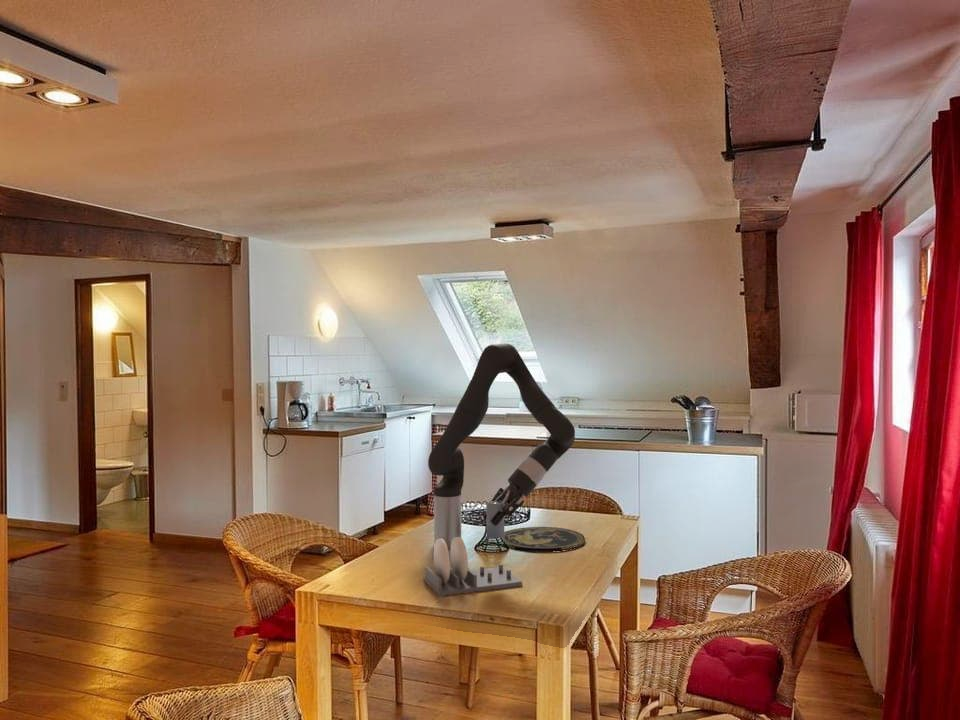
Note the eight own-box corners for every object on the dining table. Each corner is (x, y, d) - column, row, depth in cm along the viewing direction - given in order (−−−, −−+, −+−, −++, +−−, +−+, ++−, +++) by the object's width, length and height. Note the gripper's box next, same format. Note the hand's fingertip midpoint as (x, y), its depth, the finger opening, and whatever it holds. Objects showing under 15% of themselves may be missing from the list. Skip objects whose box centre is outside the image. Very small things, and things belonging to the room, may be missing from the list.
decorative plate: (560, 523, 266) (601, 542, 238) (560, 528, 266) (601, 548, 238) (485, 531, 256) (519, 552, 228) (485, 536, 256) (519, 558, 228)
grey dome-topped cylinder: (484, 535, 206) (483, 502, 205) (500, 533, 207) (499, 500, 207) (490, 539, 201) (490, 505, 201) (507, 537, 203) (506, 503, 203)
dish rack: (423, 580, 204) (423, 534, 204) (501, 570, 213) (501, 526, 213) (439, 596, 190) (439, 547, 190) (522, 585, 199) (522, 538, 199)
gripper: (509, 464, 213) (471, 508, 209) (529, 471, 200) (489, 518, 196) (525, 480, 215) (488, 524, 211) (546, 489, 202) (507, 536, 198)
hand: (489, 521), depth 203 cm, fingers closed on grey dome-topped cylinder, 5 cm apart
